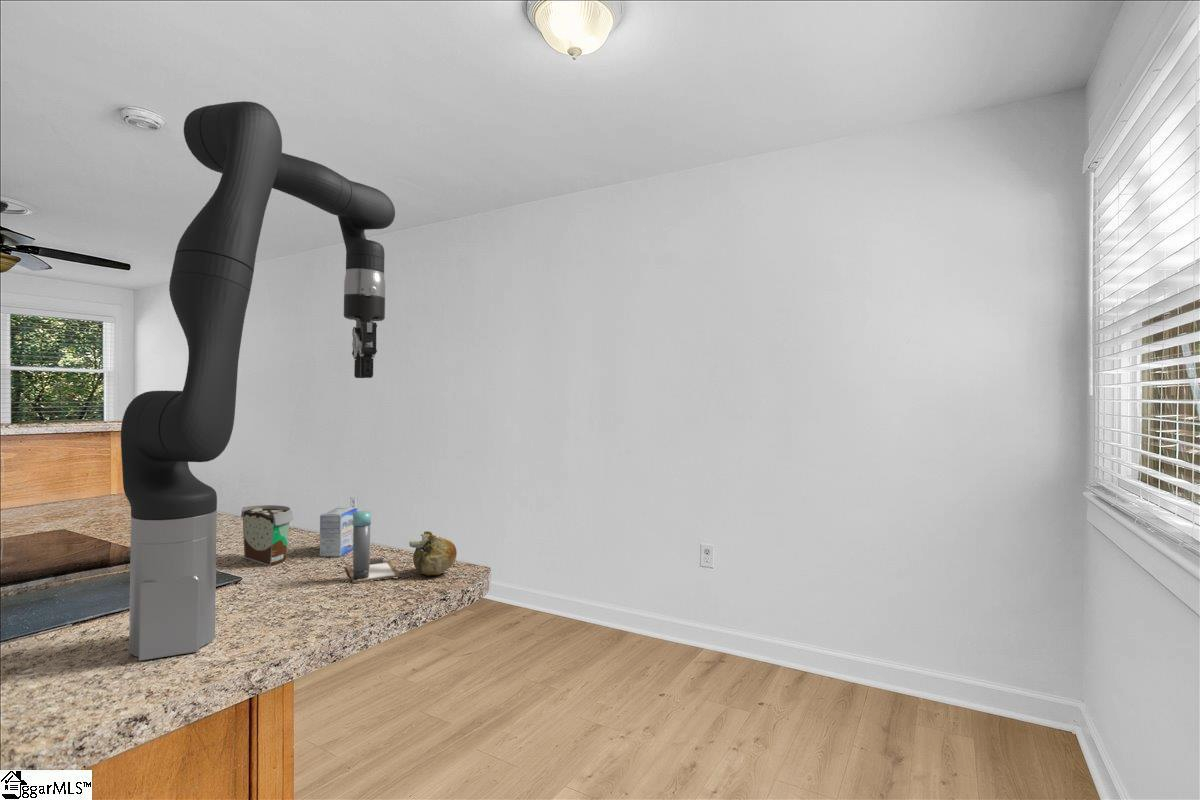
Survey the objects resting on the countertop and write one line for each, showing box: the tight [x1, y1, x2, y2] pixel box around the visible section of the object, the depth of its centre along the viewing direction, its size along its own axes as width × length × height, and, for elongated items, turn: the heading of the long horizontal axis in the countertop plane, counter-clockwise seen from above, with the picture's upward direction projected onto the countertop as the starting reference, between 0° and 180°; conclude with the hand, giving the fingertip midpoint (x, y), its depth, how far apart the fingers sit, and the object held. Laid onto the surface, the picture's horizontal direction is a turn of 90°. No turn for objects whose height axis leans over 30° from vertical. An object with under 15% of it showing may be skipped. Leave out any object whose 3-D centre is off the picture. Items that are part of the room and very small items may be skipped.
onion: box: [408, 530, 457, 576], centre depth 112 cm, size 8×8×8 cm
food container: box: [240, 504, 294, 567], centre depth 119 cm, size 12×6×10 cm, turn 58°
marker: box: [352, 510, 372, 579], centre depth 107 cm, size 3×3×12 cm
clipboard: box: [345, 557, 402, 584], centre depth 112 cm, size 11×8×1 cm
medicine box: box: [319, 506, 358, 558], centre depth 125 cm, size 8×4×9 cm, turn 179°
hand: (363, 377), depth 118 cm, fingers open, 8 cm apart
